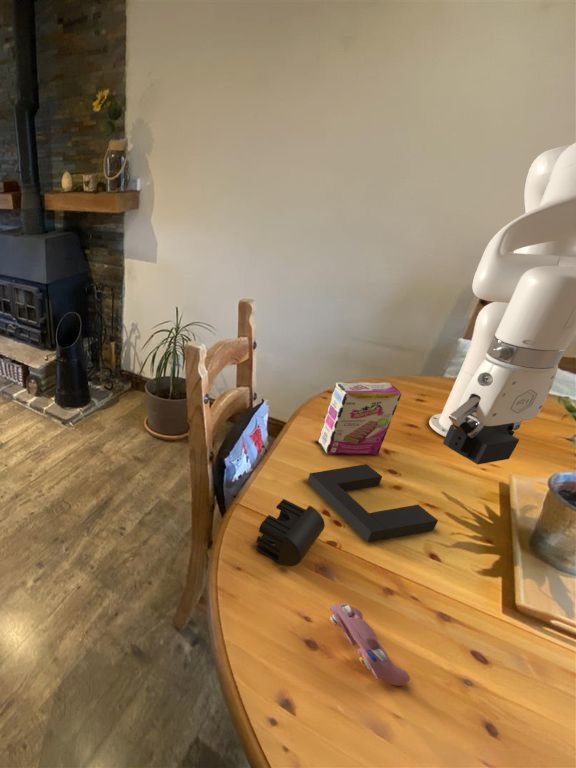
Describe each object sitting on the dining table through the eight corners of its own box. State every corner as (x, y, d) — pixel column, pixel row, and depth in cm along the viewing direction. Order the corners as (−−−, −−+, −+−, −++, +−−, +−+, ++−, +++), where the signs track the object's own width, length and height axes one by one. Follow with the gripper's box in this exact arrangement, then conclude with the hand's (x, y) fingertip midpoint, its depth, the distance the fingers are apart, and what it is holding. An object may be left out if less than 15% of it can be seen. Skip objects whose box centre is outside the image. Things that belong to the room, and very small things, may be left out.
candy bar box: (327, 455, 94) (345, 392, 86) (317, 442, 98) (334, 381, 91) (380, 456, 93) (403, 392, 85) (368, 442, 97) (389, 381, 90)
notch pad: (363, 473, 88) (366, 463, 87) (433, 530, 74) (438, 520, 73) (307, 482, 87) (309, 473, 86) (367, 542, 73) (371, 532, 72)
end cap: (295, 576, 68) (304, 547, 65) (253, 550, 73) (259, 523, 70) (319, 542, 74) (328, 514, 70) (279, 520, 78) (286, 493, 75)
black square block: (471, 438, 74) (480, 419, 72) (509, 459, 68) (520, 439, 66) (442, 443, 73) (450, 424, 71) (477, 464, 68) (487, 445, 66)
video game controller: (330, 624, 62) (319, 600, 59) (359, 612, 62) (350, 587, 58) (379, 698, 54) (370, 674, 51) (415, 685, 53) (407, 661, 50)
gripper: (501, 370, 58) (452, 471, 66) (604, 354, 60) (544, 454, 68) (448, 349, 64) (410, 443, 73) (543, 336, 66) (495, 429, 75)
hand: (475, 448), depth 70 cm, fingers closed on black square block, 6 cm apart
